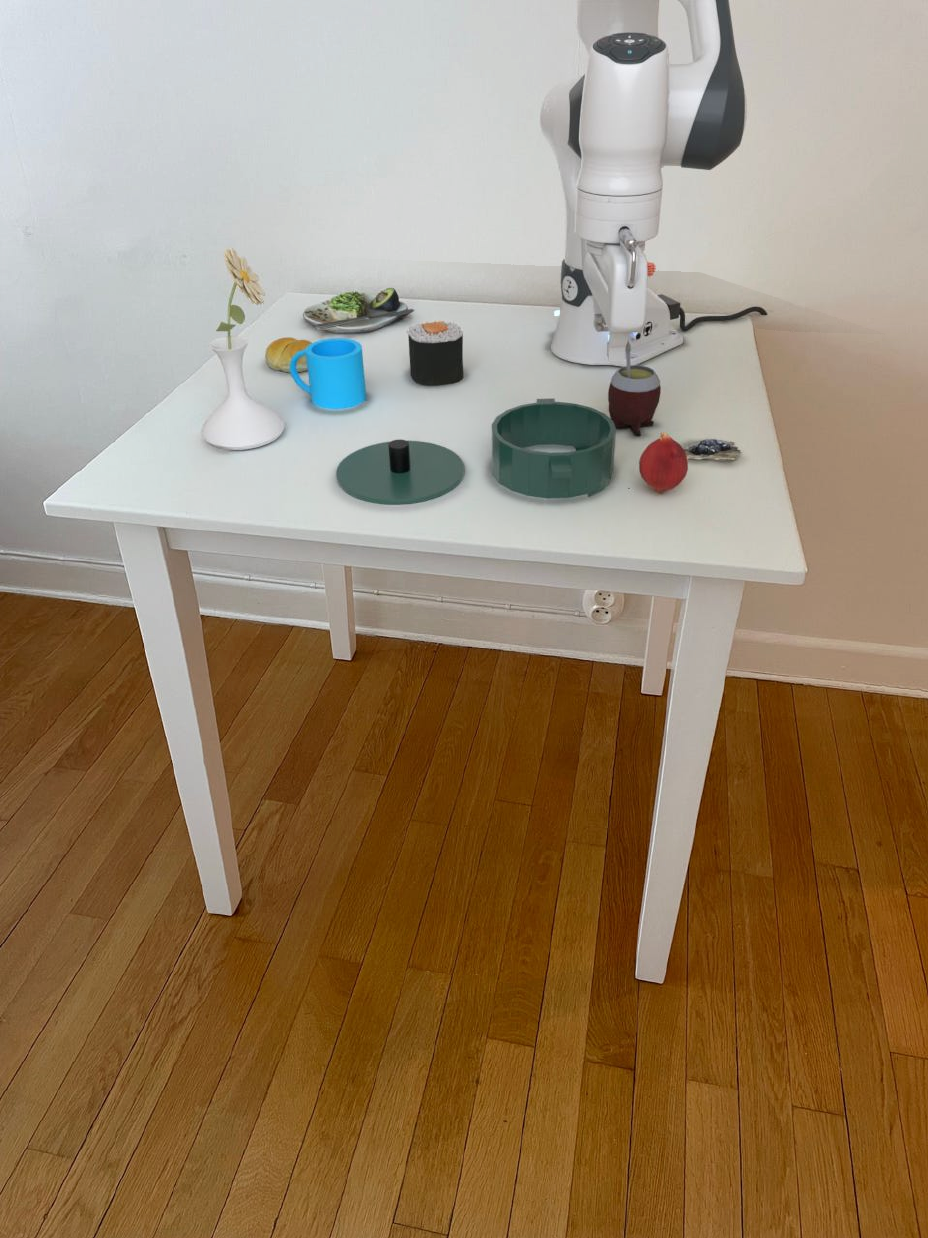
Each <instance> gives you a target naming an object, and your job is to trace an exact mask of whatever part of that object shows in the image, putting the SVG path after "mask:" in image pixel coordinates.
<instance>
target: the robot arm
mask: <svg viewBox="0 0 928 1238" xmlns="http://www.w3.org/2000/svg"><path fill="white" fill-rule="evenodd" d="M677 1H678V2H679V3H680V4H681V5H682V7H683V8H684V11H685V14H686V19H687V25H688V33H689V40H690V46H691V54H692V62H690V63H682V64H680V63H679V64H677V63H674V64H672V63H671V64H670V55H669V54H670V53H669V47H668V44H667V43H666V42H665V41H664V40H662V39H661V38H659V14H660V13H659V11H660V0H576V5H575V6H576V7H575V11H576V12H575V30H576V33H577V37H578V38H579V40H580V41H581V43H582V44H583V46H584V47H585V50H586V52H587V55H588V58H587V64H586V68H585V73H584V74H582V75H581V76H576V77H570V78H566V79H563V80H560V81H559V82H557V83H555V84H554V85H553V86H552V87H551V88H550V89H549V90H548V91H547V93H546V95H545V96H544V98H543V101H542V104H541V107H540V114H539V123H540V128H541V132H542V136H543V137H544V139H545V141H547V143H548V145H549V147H550V149H551V151H552V154H553V156H554V159H555V162H556V167H557V169H558V174H559V179H560V183H561V188H562V194H563V200H564V208H565V209H564V210H565V213H564V214H565V231H564V232H565V233H564V234H565V235H564V258H563V260H562V261H561V267H560V268H561V269H560V291H561V300H560V305H559V310H555V311H554V317H557V316H558V317H557V323H556V327H555V332H554V335H553V339H552V342H551V345H550V351H551V352H552V353H553V355H555V356H556V357H558V358H560V359H562V360H564V361H566V362H567V361H568V362H570V363H571V362H572V363H575V364H581V365H590V366H615V367H625V366H627V364H626V352H625V350H626V345H627V342H628V340H629V344H630V345H631V351H630V364H631V365H640V364H641V363H643V362H644V363H645V362H646V361H647V360H648V361H649V360H650V359H652V358H655V357H657V356H658V355H662V354H663V353H665V352H668V351H670V350H672V349H675V348H676V347H678V346H681V345H683V344H684V337H683V335H682V334H681V333H680V332H679V331H677V330H676V329H674V328H673V327H671V321H672V320H677V319H679V329H680V330H681V331H682V332H688V331H689V330H691V329H692V328H693V327H694V326H695V325H697V324H700V323H704V322H726V321H727V322H728V321H733V320H737V319H739V318H743V317H744V316H747V315H749V314H751V313H754V312H757V313H759V314H760V315H761V316H767V315H768V312H767V311H766V310H765V309H764V308H763V307H761V306H751V307H748V308H745V309H742V310H741V311H738V312H736V313H733V314H728V315H704V316H699V317H695V318H694V319H692V320H691V321H689V323H688V324H686V313H685V311H684V309H683V308H682V307H681V302H680V301H677V300H675V299H673V298H671V297H669V296H667V295H665V294H663V293H661V294H656V293H655V292H654V291H653V290H651V289H650V288H649V287H648V277H653V275H655V273H656V270H657V268H656V267H657V265H656V264H655V263H654V262H649V261H648V259H647V256H646V254H645V250H646V242H647V241H650V240H652V239H654V238H655V237H657V236H658V234H659V229H660V218H661V208H662V196H663V186H664V180H663V179H664V178H663V174H662V169H663V168H664V167H680V168H683V169H693V170H703V171H704V170H705V171H711V170H713V169H714V168H716V167H717V166H719V165H720V164H722V163H723V162H724V161H725V160H727V159H728V158H729V157H730V156H731V155H732V154H733V153H735V152H736V150H738V148H739V147H740V146H741V144H742V143H741V142H742V140H743V136H744V133H745V129H746V124H747V116H748V102H747V96H746V90H745V86H744V80H743V75H742V71H741V67H740V64H739V60H738V55H737V50H736V44H735V43H736V42H735V36H734V29H733V28H734V27H733V21H732V15H731V8H730V7H731V6H730V1H729V0H677Z"/></svg>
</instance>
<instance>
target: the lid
mask: <svg viewBox="0 0 928 1238" xmlns="http://www.w3.org/2000/svg"><path fill="white" fill-rule="evenodd" d="M335 476H336V481H337V484H338V485H339V487H340V489H341V490H342V491H344V492H345V493H346V494H348V495H349V496H351V497H353V498H356V499H358V500H361V501H363V502H368V503H369V502H370V503H373V504H380V505H410V504H416V503H422V502H426V501H430V500H434V499H436V498H439V497H442V496H443V495H446V494H447V493H450V492H451V491H452V490H454V489H455V488H456V487H458V485H459V484H460V483H461V482H462V480H463V478H464V476H465V465H464V462H463V459H462V458H461V457H460V456H459V455H458V454H457V453H456V452H454V451H453V450H451V449H449V448H447V447H445V446H442V445H440V444H436V443H433V442H427V441H420V440H405V439H393V440H391V441H386V442H384V441H383V442H379V443H375V444H371V445H368V446H364V447H362V448H360V449H357V450H355V451H353V452H352V453H350V454H348V455H347V456H345V457H344V458H343V459H342V460H341V461H340V462H339V464H338V466H337V468H336V473H335Z"/></svg>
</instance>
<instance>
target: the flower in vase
mask: <svg viewBox="0 0 928 1238" xmlns="http://www.w3.org/2000/svg"><path fill="white" fill-rule="evenodd" d="M223 258H224V263H225V266H226V269H227V271H228V273H229V274H230V276H231V279H232V280H233V282H234V283H233V285H232V288H231V292H230V295H229V298H228V306H227V323H226V322H223V321H220V323H219V326H218V328H217V329H216V330H215V332H227V336H223V337H219V338H215V339H214V340H212V341H210V343H209V344H208V345H209V348H210V349H211V350H212V351H213V352H214V353H215V354H216V356H217V358H218V359H219V361H220V363H221V365H222V369H223V371H224V375H225V379H226V385H227V395H226V398H225V399H224V400H223V402H222V403H221V404H220V405H219V406H218V407H217V408H216V409H215V410H214V411H213V412H212V413H210V415H208V417H207V418H206V419H205V420H204V422H203V424H202V428H201V433H200V434H201V437H202V439H203V440H204V441H205V442H206V443H207V444H209V445H211V446H212V447H215V448H217V449H222V450H229V451H230V450H231V451H242V450H244V451H245V450H252V449H255V448H259V447H262V446H266V445H268V444H270V443H272V442H274V441H275V440H277V439H279V437H280V436H281V435H282V434H283V432H284V430H285V428H286V423H285V421H284V419H283V418H282V416H281V414H280V413H278V412H277V411H276V410H275V409H273V408H272V407H270V406H268V405H267V404H265V403H262V402H260V401H259V400H257V399H255V398H253V397H252V396H251V395H250V394H249V393H248V391H247V389H246V384H245V381H244V372H243V371H244V370H243V357H244V353H245V350H246V348H247V346H248V344H249V340H248V339H247V338H245V337H242V336H236V335H233V336H232V335H231V330H232V329H234V328H235V327H236V326H237V324H239V325H242V324H243V323H244V322H245V321H246V320H245V319H246V315H245V312H244V310H243V308H242V307H241V306H239V305H236V304H232V302H233V298H234V295H235V291H236V289H238V290H239V292H241V293H242V295H243V296H244V297H245V298H246V299H247V300H248V301H249V302H250V303H251V304H255V305H257V306H259V305H260V306H261V305H262V304H265V301H264V299H263V298H262V297H261V296H263V297H264V296H265V294H266V293H265V291H264V290H263V288H262V286H261V284H259V283H258V282H259V279H260V278H259V275H258V274H257V273H255V272H253V269H252V268H251V266H249V265H248V260H247V259H246V257H245V256H241V257H239V256H238V254H237V251H236V249H234V248H233V246H230V247H229V249H228V248H227V247H225V248H224V252H223ZM260 295H261V296H260ZM231 319H232V320H233V321H234V322H235V323H237V324H233V323H232V324H231Z"/></svg>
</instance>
